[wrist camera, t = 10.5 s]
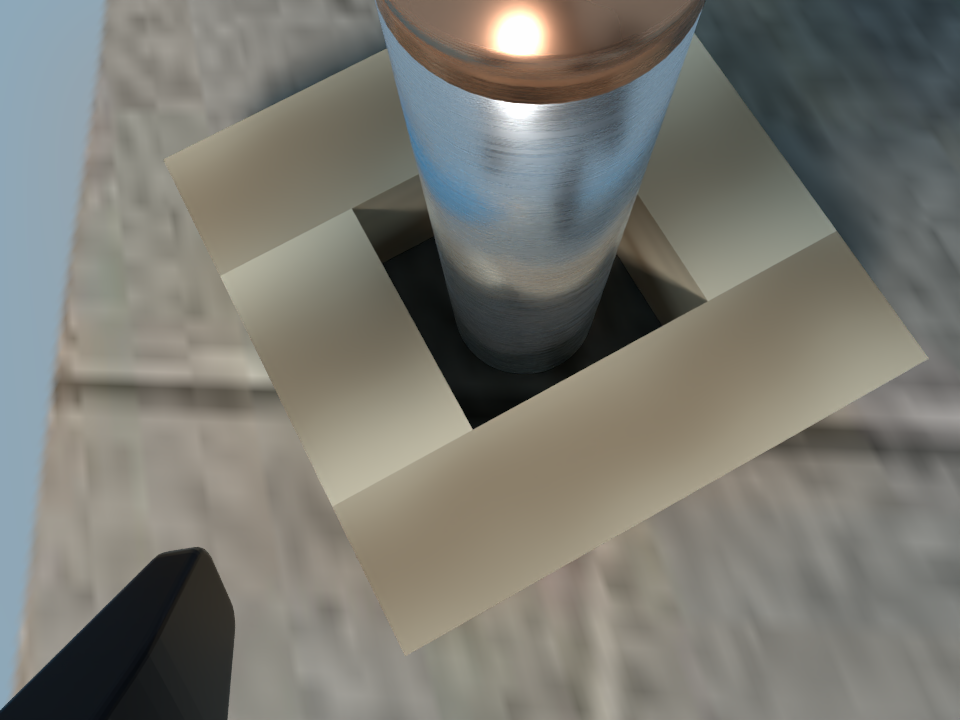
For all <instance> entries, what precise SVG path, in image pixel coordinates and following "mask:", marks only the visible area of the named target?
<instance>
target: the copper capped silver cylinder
mask: <svg viewBox="0 0 960 720" xmlns="http://www.w3.org/2000/svg"><path fill="white" fill-rule="evenodd" d="M375 3H376V7H377V11H378V15H379V19H380V23H381V27H382V30H383V34H384V38H385V42H386V46H387V50H388V54H389V58H390V62H391V66H392V70H393V74H394V78H395V82H396V86H397V90H398V94H399V98H400V102H401V106H402V110H403V114H404V118H405V122H406V126H407V130H408V134H409V138H410V142H411V146H412V150H413V154H414V158H415V162H416V166H417V170H418V174H419V178H420V182H421V186H422V190H423V194H424V197H425V201H426V205H427V209H428V213H429V217H430V221H431V225H432V229H433V233H434V237H435V241H436V245H437V249H438V253H439V257H440V261H441V265H442V269H443V273H444V277H445V281H446V285H447V289H448V293H449V297H450V301H451V305H452V309H453V313H454V317H455V321H456V324H457V327H458V331H459V333H460V335H461V337H462V339H463V341H464V342H465V344H466V345H467V347H468V348H469V349H470V350H471V351H472V352H473V354H475V355H476V356H477V357H478V358H479V359H480V360H482V361H483V362H485V363H486V364H488V365H490V366H492V367H494V368H496V369H499V370H502V371H504V372H509V373H515V374H533V373H539V372H543V371H546V370H549V369H552V368H554V367H556V366H558V365H560V364H561V363H563V362H565V361H566V360H567V359H569V358H570V357H571V356H572V355H573V354H574V353H575V352H576V351H577V350H578V349H579V348H580V346H581V345H582V343H583V342H584V341H585V339H586V337H587V335H588V333H589V330H590V327H591V324H592V321H593V318H594V316H595V313H596V310H597V307H598V304H599V301H600V299H601V296H602V293H603V290H604V287H605V284H606V282H607V279H608V276H609V273H610V270H611V267H612V264H613V262H614V259H615V256H616V253H617V250H618V247H619V245H620V242H621V239H622V236H623V233H624V230H625V228H626V225H627V222H628V219H629V216H630V213H631V211H632V208H633V205H634V202H635V199H636V196H637V193H638V191H639V188H640V185H641V182H642V179H643V176H644V174H645V171H646V168H647V165H648V162H649V159H650V157H651V154H652V151H653V148H654V145H655V142H656V139H657V137H658V134H659V131H660V128H661V125H662V122H663V120H664V117H665V114H666V111H667V108H668V105H669V103H670V100H671V97H672V94H673V91H674V88H675V86H676V83H677V80H678V77H679V74H680V71H681V68H682V66H683V63H684V60H685V57H686V54H687V51H688V49H689V46H690V43H691V40H692V37H693V34H694V32H695V29H696V26H697V23H698V20H699V17H700V14H701V12H702V9H703V6H704V3H705V0H375Z"/></svg>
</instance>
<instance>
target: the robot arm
mask: <svg viewBox="0 0 960 720" xmlns="http://www.w3.org/2000/svg"><path fill="white" fill-rule="evenodd" d="M234 636H235V617H234V610H233V606H232V604H231V601H230V599H229V596H228V594H227V592H226V590H225V587H224V585H223V583H222V581H221V578H220V576H219V574H218V572H217V569H216V567H215V565H214V563H213V560H212V558H211V556H210V555H209V553H208V552H207V551H206V550H205V549H203V548H200V547H193V548H186V549H180V550H174V551H168V552H164V553H161V554H159V555H158V556H156V557H155V558H154V559H153V560H152V561H151V562H150V563H149V564H148V565H147V566H146V567H145V568H144V569H143V570H142V571H141V572H140V573H139V574H138V575H137V576H136V577H135V578H134V579H133V580H132V581H131V582H130V583H129V584H128V585H127V586H126V587H124V588H123V589H122V590H121V591H120V592H119V593H118V594H117V595H116V596H115V597H114V598H113V599H112V600H111V601H110V602H109V603H108V604H107V605H106V606H105V607H104V608H103V609H102V610H101V611H100V612H99V613H98V614H97V615H96V616H95V617H94V618H93V619H92V620H91V621H90V622H89V623H88V624H87V625H86V626H85V627H84V628H83V629H82V630H81V631H80V632H79V633H78V634H77V635H76V636H75V637H74V638H73V639H72V640H71V641H70V642H69V643H68V644H67V645H66V646H65V647H64V648H63V649H62V650H61V651H60V652H59V653H58V654H57V655H56V656H55V657H54V658H53V659H52V660H51V661H50V662H49V663H48V664H47V665H46V666H45V667H44V668H43V669H42V670H41V671H40V672H39V673H38V674H36V675H35V676H34V677H33V678H32V679H31V680H30V681H29V682H28V683H27V684H26V685H25V686H24V687H23V688H22V689H21V690H20V691H19V692H18V693H17V694H16V695H15V696H14V697H13V698H12V699H11V700H10V701H9V702H8V703H7V704H6V705H5V706H4V707H3V708H2V709H1V710H0V720H227V718H228V706H229V695H230V683H231V671H232V659H233V648H234Z"/></svg>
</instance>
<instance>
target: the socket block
mask: <svg viewBox="0 0 960 720" xmlns="http://www.w3.org/2000/svg"><path fill="white" fill-rule="evenodd" d="M163 160H164V162H165V164H166V166H167V168H168V170H169V172H170V174H171V176H172V178H173V180H174V182H175V184H176V187H177V189H178V191H179V193H180V195H181V197H182V199H183V201H184V203H185V205H186V207H187V209H188V211H189V213H190V215H191V217H192V219H193V221H194V223H195V226H196V228H197V230H198V232H199V234H200V236H201V238H202V240H203V242H204V244H205V246H206V248H207V250H208V252H209V254H210V256H211V258H212V260H213V262H214V265H215V267H216V269H217V271H218V273H219V275H220V277H221V279H222V281H223V283H224V285H225V287H226V289H227V291H228V293H229V295H230V297H231V299H232V302H233V304H234V306H235V308H236V310H237V312H238V314H239V316H240V318H241V320H242V322H243V324H244V326H245V328H246V330H247V332H248V334H249V336H250V338H251V341H252V343H253V345H254V347H255V349H256V351H257V353H258V355H259V357H260V359H261V361H262V363H263V365H264V367H265V369H266V371H267V373H268V375H269V378H270V380H271V382H272V384H273V386H274V388H275V390H276V392H277V394H278V396H279V398H280V400H281V402H282V404H283V406H284V408H285V410H286V412H287V414H288V417H289V419H290V421H291V423H292V425H293V427H294V429H295V431H296V433H297V435H298V437H299V439H300V441H301V443H302V445H303V447H304V449H305V451H306V453H307V456H308V458H309V460H310V462H311V464H312V466H313V468H314V470H315V472H316V474H317V476H318V478H319V480H320V482H321V484H322V486H323V488H324V490H325V493H326V495H327V497H328V499H329V501H330V503H331V505H332V507H333V509H334V511H335V513H336V515H337V517H338V519H339V521H340V523H341V525H342V527H343V529H344V532H345V534H346V536H347V538H348V540H349V542H350V544H351V546H352V548H353V550H354V552H355V554H356V556H357V558H358V560H359V562H360V564H361V566H362V569H363V571H364V573H365V575H366V577H367V579H368V581H369V583H370V585H371V587H372V589H373V591H374V593H375V595H376V597H377V599H378V601H379V603H380V605H381V608H382V610H383V612H384V614H385V616H386V618H387V620H388V622H389V624H390V626H391V628H392V630H393V632H394V634H395V636H396V638H397V640H398V642H399V644H400V647H401V649H402V651H403V653H404V655H405V656H407V655H408V654H410V653H412V652H414V651H415V650H417V649H419V648H421V647H422V646H424V645H426V644H428V643H429V642H431V641H433V640H435V639H437V638H438V637H440V636H442V635H444V634H445V633H447V632H449V631H451V630H452V629H454V628H456V627H458V626H459V625H461V624H463V623H465V622H466V621H468V620H470V619H472V618H473V617H475V616H477V615H479V614H480V613H482V612H484V611H486V610H488V609H489V608H491V607H493V606H495V605H496V604H498V603H500V602H502V601H503V600H505V599H507V598H509V597H510V596H512V595H514V594H516V593H517V592H519V591H521V590H523V589H524V588H526V587H528V586H530V585H531V584H533V583H535V582H537V581H539V580H540V579H542V578H544V577H546V576H547V575H549V574H551V573H553V572H554V571H556V570H558V569H560V568H561V567H563V566H565V565H567V564H568V563H570V562H572V561H574V560H575V559H577V558H579V557H581V556H582V555H584V554H586V553H588V552H590V551H591V550H593V549H595V548H597V547H598V546H600V545H602V544H604V543H605V542H607V541H609V540H611V539H612V538H614V537H616V536H618V535H619V534H621V533H623V532H625V531H626V530H628V529H630V528H632V527H633V526H635V525H637V524H639V523H641V522H642V521H644V520H646V519H648V518H649V517H651V516H653V515H655V514H656V513H658V512H660V511H662V510H663V509H665V508H667V507H669V506H670V505H672V504H674V503H676V502H677V501H679V500H681V499H683V498H684V497H686V496H688V495H690V494H692V493H693V492H695V491H697V490H699V489H700V488H702V487H704V486H706V485H707V484H709V483H711V482H713V481H714V480H716V479H718V478H720V477H721V476H723V475H725V474H727V473H728V472H730V471H732V470H734V469H735V468H737V467H739V466H741V465H743V464H744V463H746V462H748V461H750V460H751V459H753V458H755V457H757V456H758V455H760V454H762V453H764V452H765V451H767V450H769V449H771V448H772V447H774V446H776V445H778V444H779V443H781V442H783V441H785V440H786V439H788V438H790V437H792V436H794V435H795V434H797V433H799V432H801V431H802V430H804V429H806V428H808V427H809V426H811V425H813V424H815V423H816V422H818V421H820V420H822V419H823V418H825V417H827V416H829V415H830V414H832V413H834V412H836V411H837V410H839V409H841V408H843V407H845V406H846V405H848V404H850V403H852V402H853V401H855V400H857V399H859V398H860V397H862V396H864V395H866V394H867V393H869V392H871V391H873V390H874V389H876V388H878V387H880V386H881V385H883V384H885V383H887V382H888V381H890V380H892V379H894V378H896V377H897V376H899V375H901V374H903V373H904V372H906V371H908V370H910V369H911V368H913V367H915V366H917V365H918V364H920V363H922V362H924V361H925V360H927V359H929V358H928V357H927V356H926V354H925V353H924V351H923V350H922V349H921V347H920V346H919V344H918V343H917V342H916V340H915V339H914V337H913V336H912V335H911V333H910V332H909V331H908V329H907V328H906V326H905V325H904V324H903V322H902V321H901V319H900V318H899V317H898V315H897V314H896V312H895V311H894V310H893V308H892V307H891V306H890V304H889V303H888V301H887V300H886V299H885V297H884V296H883V294H882V293H881V292H880V290H879V289H878V287H877V286H876V285H875V283H874V282H873V281H872V279H871V278H870V276H869V275H868V274H867V272H866V271H865V269H864V268H863V267H862V265H861V264H860V262H859V261H858V260H857V258H856V257H855V255H854V254H853V253H852V251H851V250H850V249H849V247H848V246H847V244H846V243H845V242H844V240H843V239H842V237H841V236H840V235H839V233H838V232H837V230H836V229H835V228H834V226H833V225H832V224H831V222H830V221H829V219H828V218H827V217H826V215H825V214H824V212H823V211H822V210H821V208H820V207H819V205H818V204H817V203H816V201H815V200H814V199H813V197H812V196H811V194H810V193H809V192H808V190H807V189H806V187H805V186H804V185H803V183H802V182H801V180H800V179H799V178H798V176H797V175H796V173H795V172H794V171H793V169H792V168H791V167H790V165H789V164H788V162H787V161H786V160H785V158H784V157H783V155H782V154H781V153H780V151H779V150H778V148H777V147H776V146H775V144H774V143H773V142H772V140H771V139H770V137H769V136H768V135H767V133H766V132H765V130H764V129H763V128H762V126H761V125H760V123H759V122H758V121H757V119H756V118H755V117H754V115H753V114H752V112H751V111H750V110H749V108H748V107H747V105H746V104H745V103H744V101H743V100H742V98H741V97H740V96H739V94H738V93H737V92H736V90H735V89H734V87H733V86H732V85H731V83H730V82H729V80H728V79H727V78H726V76H725V75H724V73H723V72H722V71H721V69H720V68H719V66H718V65H717V64H716V62H715V61H714V60H713V58H712V57H711V55H710V54H709V53H708V51H707V50H706V48H705V47H704V46H703V44H702V43H701V41H700V40H699V39H698V37H697V36H696V35H695V33H694V34H693V37H692V40H691V43H690V46H689V49H688V51H687V54H686V57H685V60H684V63H683V66H682V68H681V71H680V74H679V77H678V80H677V83H676V86H675V88H674V91H673V94H672V97H671V100H670V103H669V105H668V108H667V111H666V114H665V117H664V120H663V122H662V125H661V128H660V131H659V134H658V137H657V139H656V142H655V145H654V148H653V151H652V154H651V157H650V159H649V162H648V165H647V168H646V171H645V174H644V176H643V179H642V182H641V185H640V188H639V191H638V193H637V196H636V199H635V202H634V205H633V208H632V211H631V213H630V216H629V219H628V222H627V225H626V228H625V230H624V233H623V236H622V239H621V242H620V245H619V247H618V250H617V253H616V254H617V255H618V257H619V258H620V260H621V262H622V263H623V265H624V266H625V268H626V269H627V271H628V273H629V274H630V276H631V277H632V279H633V280H634V282H635V284H636V285H637V287H638V288H639V290H640V291H641V293H642V295H643V296H644V298H645V299H646V301H647V303H648V304H649V306H650V307H651V309H652V310H653V312H654V314H655V315H656V317H657V318H658V320H659V321H660V323H661V325H662V327H660V328H658V329H656V330H654V331H653V332H651V333H649V334H647V335H645V336H643V337H642V338H640V339H638V340H636V341H634V342H632V343H631V344H629V345H627V346H625V347H623V348H622V349H620V350H618V351H616V352H614V353H612V354H611V355H609V356H607V357H605V358H603V359H601V360H600V361H598V362H596V363H594V364H592V365H590V366H589V367H587V368H585V369H583V370H581V371H579V372H578V373H576V374H574V375H572V376H570V377H568V378H567V379H565V380H563V381H561V382H559V383H557V384H556V385H554V386H552V387H550V388H548V389H547V390H545V391H543V392H541V393H539V394H537V395H536V396H534V397H532V398H530V399H528V400H526V401H525V402H523V403H521V404H519V405H517V406H515V407H514V408H512V409H510V410H508V411H506V412H504V413H503V414H501V415H499V416H497V417H495V418H493V419H492V420H490V421H488V422H486V423H484V424H483V425H481V426H479V427H477V428H475V429H472V427H471V426H470V424H469V422H468V420H467V418H466V416H465V415H464V413H463V411H462V409H461V407H460V405H459V404H458V402H457V400H456V398H455V396H454V395H453V393H452V391H451V389H450V387H449V385H448V384H447V382H446V380H445V378H444V376H443V374H442V373H441V371H440V369H439V367H438V365H437V363H436V362H435V360H434V358H433V356H432V354H431V352H430V351H429V349H428V347H427V345H426V343H425V342H424V340H423V338H422V336H421V334H420V332H419V331H418V329H417V327H416V325H415V323H414V321H413V320H412V318H411V316H410V314H409V312H408V310H407V309H406V307H405V305H404V303H403V301H402V300H401V298H400V296H399V294H398V292H397V290H396V289H395V287H394V285H393V283H392V281H391V279H390V278H389V276H388V274H387V272H386V270H385V268H384V267H383V265H382V263H384V262H386V261H388V260H389V259H391V258H393V257H395V256H397V255H399V254H401V253H403V252H405V251H407V250H409V249H411V248H412V247H414V246H416V245H418V244H420V243H422V242H424V241H426V240H428V239H430V238H432V237H434V233H433V229H432V225H431V221H430V217H429V213H428V209H427V205H426V201H425V197H424V194H423V190H422V186H421V182H420V178H419V174H418V170H417V166H416V162H415V158H414V154H413V150H412V146H411V142H410V138H409V134H408V130H407V126H406V122H405V118H404V114H403V110H402V106H401V102H400V98H399V94H398V90H397V86H396V82H395V78H394V74H393V70H392V66H391V62H390V58H389V54H388V50H387V48H386V49H384V50H382V51H380V52H378V53H376V54H374V55H372V56H370V57H368V58H366V59H364V60H362V61H360V62H358V63H356V64H354V65H352V66H350V67H348V68H346V69H344V70H342V71H340V72H338V73H336V74H334V75H332V76H330V77H328V78H326V79H324V80H322V81H320V82H318V83H316V84H314V85H312V86H310V87H308V88H306V89H304V90H302V91H300V92H298V93H296V94H294V95H292V96H290V97H288V98H286V99H284V100H282V101H280V102H278V103H276V104H274V105H272V106H270V107H268V108H266V109H264V110H262V111H260V112H258V113H256V114H254V115H252V116H250V117H248V118H246V119H244V120H242V121H240V122H238V123H236V124H234V125H232V126H230V127H228V128H226V129H224V130H222V131H220V132H218V133H216V134H213V135H211V136H209V137H207V138H205V139H203V140H201V141H199V142H197V143H195V144H193V145H191V146H189V147H187V148H185V149H183V150H181V151H179V152H177V153H175V154H173V155H171V156H169V157H167V158H165V159H163Z"/></svg>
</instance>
